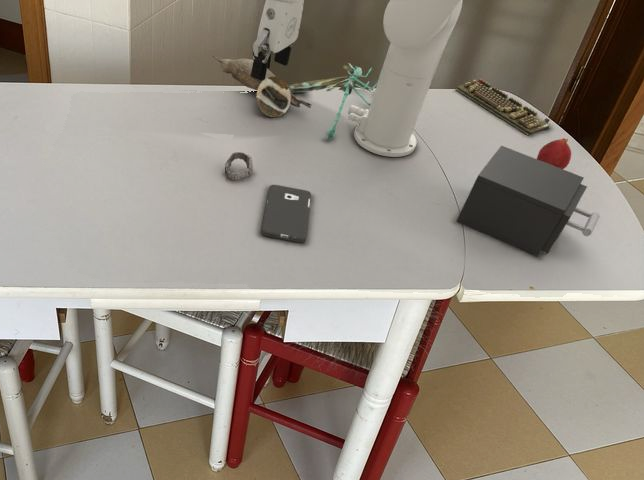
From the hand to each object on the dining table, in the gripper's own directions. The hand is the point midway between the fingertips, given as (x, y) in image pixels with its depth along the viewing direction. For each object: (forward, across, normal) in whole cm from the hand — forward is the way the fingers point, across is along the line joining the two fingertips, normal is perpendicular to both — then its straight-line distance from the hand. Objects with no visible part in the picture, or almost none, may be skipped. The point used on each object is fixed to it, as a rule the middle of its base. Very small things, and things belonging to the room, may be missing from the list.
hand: (269, 70), depth 147 cm
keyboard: (+6, +32, -43) cm, 54 cm away
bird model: (-1, 0, +2) cm, 2 cm away
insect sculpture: (+4, -10, -17) cm, 20 cm away
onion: (+4, +12, -59) cm, 60 cm away
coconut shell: (+1, -7, -6) cm, 10 cm away
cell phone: (+3, -36, -26) cm, 44 cm away
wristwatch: (+3, -31, -10) cm, 33 cm away
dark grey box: (+4, -10, -58) cm, 59 cm away
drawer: (+2, -10, -62) cm, 62 cm away
